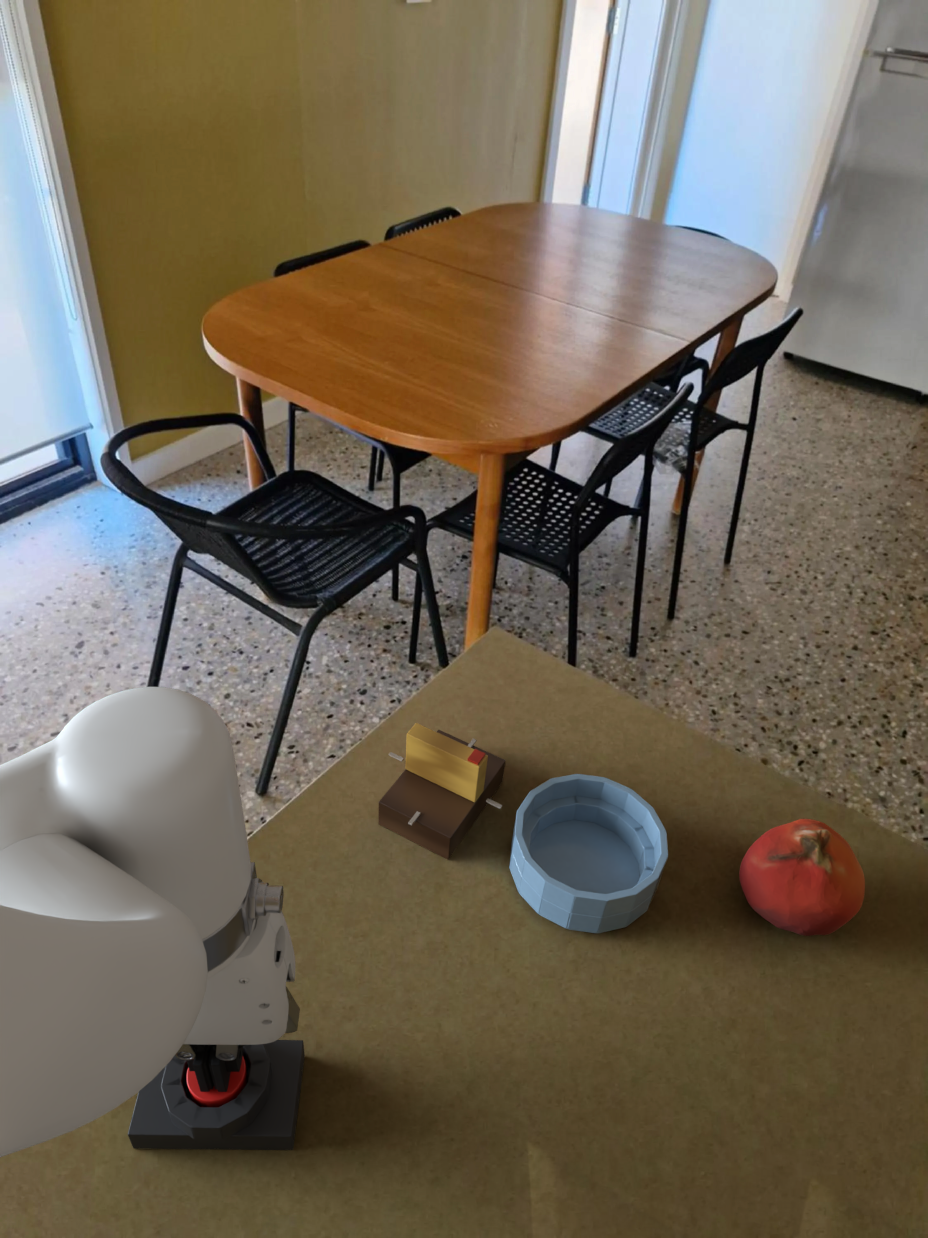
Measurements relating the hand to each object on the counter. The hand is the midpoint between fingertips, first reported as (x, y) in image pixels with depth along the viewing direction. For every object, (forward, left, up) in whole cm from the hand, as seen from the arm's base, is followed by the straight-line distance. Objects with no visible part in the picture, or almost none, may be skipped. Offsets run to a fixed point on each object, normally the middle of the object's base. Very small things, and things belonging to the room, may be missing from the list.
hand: (219, 1067), depth 56 cm
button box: (0, 0, -4) cm, 4 cm away
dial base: (+29, 0, -4) cm, 29 cm away
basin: (+29, -13, -4) cm, 32 cm away
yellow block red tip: (+29, 0, -1) cm, 29 cm away
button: (0, 0, -2) cm, 2 cm away
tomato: (+35, -29, -4) cm, 46 cm away
